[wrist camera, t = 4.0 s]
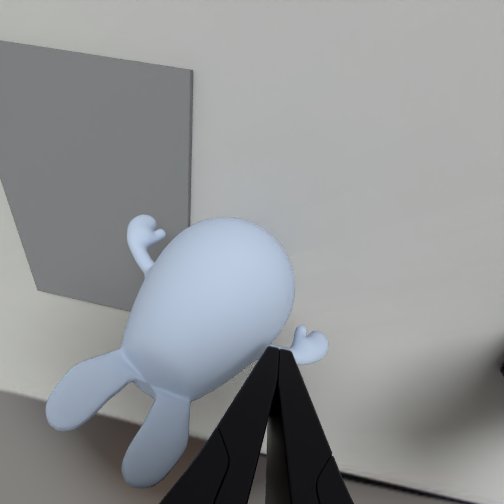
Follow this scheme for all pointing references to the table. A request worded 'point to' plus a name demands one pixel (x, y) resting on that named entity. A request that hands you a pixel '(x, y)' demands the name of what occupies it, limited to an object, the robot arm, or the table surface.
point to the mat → (92, 164)
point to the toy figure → (187, 333)
